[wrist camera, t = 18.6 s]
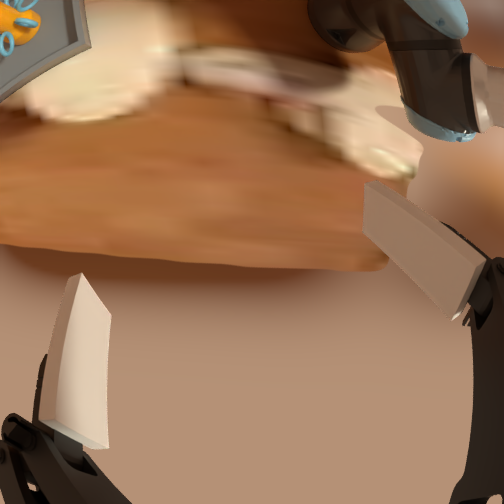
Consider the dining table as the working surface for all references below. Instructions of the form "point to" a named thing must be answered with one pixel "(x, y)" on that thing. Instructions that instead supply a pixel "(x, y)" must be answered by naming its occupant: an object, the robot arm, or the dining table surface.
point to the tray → (45, 43)
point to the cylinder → (17, 24)
